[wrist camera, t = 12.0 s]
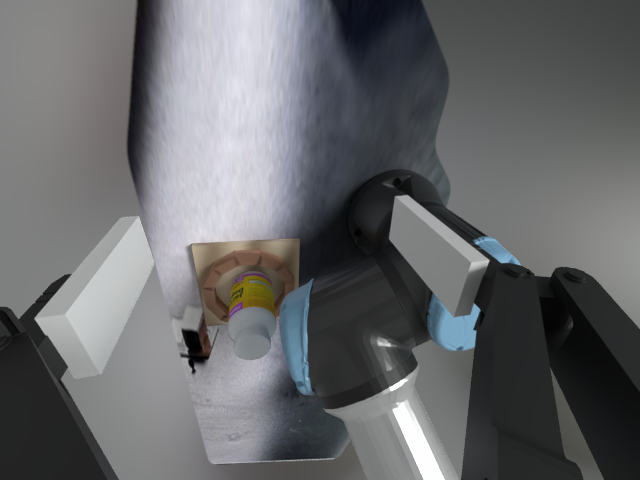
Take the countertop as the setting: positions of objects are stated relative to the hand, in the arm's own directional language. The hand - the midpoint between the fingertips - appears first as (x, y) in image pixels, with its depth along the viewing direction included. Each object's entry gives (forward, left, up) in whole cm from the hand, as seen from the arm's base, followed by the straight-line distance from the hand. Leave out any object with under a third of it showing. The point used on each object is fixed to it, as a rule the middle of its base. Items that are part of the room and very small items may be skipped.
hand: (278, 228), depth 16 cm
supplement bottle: (-10, +22, -26) cm, 35 cm away
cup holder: (-10, +22, -27) cm, 36 cm away
